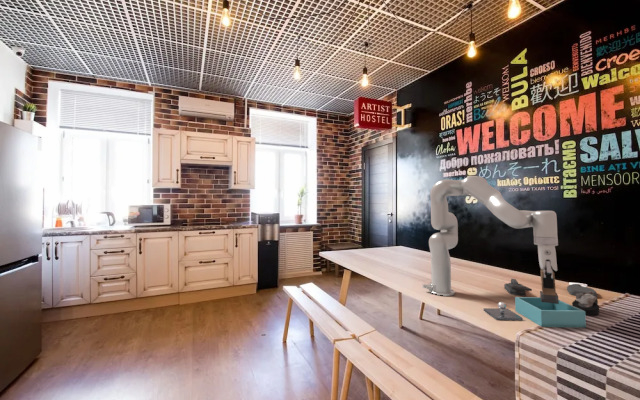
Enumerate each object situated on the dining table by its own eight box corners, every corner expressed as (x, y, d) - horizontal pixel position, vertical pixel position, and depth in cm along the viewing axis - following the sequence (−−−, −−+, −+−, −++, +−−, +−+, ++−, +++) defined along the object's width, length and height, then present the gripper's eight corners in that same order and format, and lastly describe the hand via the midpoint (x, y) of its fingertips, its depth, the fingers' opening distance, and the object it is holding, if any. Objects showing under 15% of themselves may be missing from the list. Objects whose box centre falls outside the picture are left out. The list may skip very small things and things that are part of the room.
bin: (541, 326, 104) (541, 310, 104) (515, 311, 119) (515, 297, 119) (585, 327, 103) (585, 311, 103) (553, 311, 118) (553, 297, 118)
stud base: (496, 320, 111) (496, 306, 111) (483, 310, 120) (483, 297, 121) (522, 320, 110) (522, 306, 110) (507, 310, 120) (507, 298, 120)
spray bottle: (569, 295, 139) (564, 285, 158) (599, 300, 132) (590, 288, 152) (568, 290, 139) (563, 279, 158) (599, 293, 132) (590, 282, 152)
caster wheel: (584, 321, 114) (565, 309, 123) (614, 317, 112) (593, 304, 122) (581, 306, 113) (563, 295, 123) (612, 301, 111) (591, 290, 121)
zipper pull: (510, 287, 132) (503, 275, 155) (511, 301, 132) (503, 286, 154) (533, 289, 128) (522, 276, 151) (534, 303, 128) (523, 288, 150)
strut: (558, 304, 107) (556, 272, 108) (541, 301, 110) (539, 271, 111) (556, 300, 111) (554, 270, 112) (540, 298, 114) (538, 269, 115)
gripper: (561, 244, 103) (563, 293, 102) (554, 239, 116) (557, 283, 116) (535, 243, 107) (537, 290, 106) (532, 238, 121) (534, 280, 120)
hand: (547, 286), depth 111 cm, fingers closed on strut, 4 cm apart
